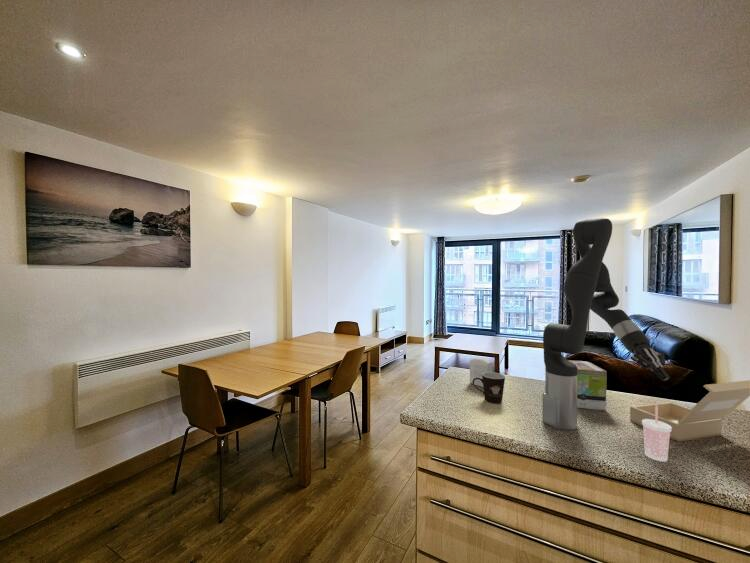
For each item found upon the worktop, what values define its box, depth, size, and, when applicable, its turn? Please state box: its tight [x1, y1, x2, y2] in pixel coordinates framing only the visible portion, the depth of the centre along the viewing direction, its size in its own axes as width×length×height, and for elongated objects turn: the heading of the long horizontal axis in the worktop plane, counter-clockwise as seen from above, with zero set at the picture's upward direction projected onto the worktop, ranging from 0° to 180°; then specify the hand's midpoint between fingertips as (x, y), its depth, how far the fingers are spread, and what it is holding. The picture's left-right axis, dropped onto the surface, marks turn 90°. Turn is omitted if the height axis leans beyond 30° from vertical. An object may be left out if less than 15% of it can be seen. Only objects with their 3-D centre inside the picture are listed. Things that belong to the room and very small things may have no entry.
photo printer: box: [469, 357, 493, 388], centre depth 143 cm, size 10×4×12 cm, turn 36°
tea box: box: [567, 359, 608, 411], centre depth 124 cm, size 15×10×15 cm, turn 168°
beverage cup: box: [642, 405, 672, 462], centre depth 86 cm, size 6×6×14 cm
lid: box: [678, 379, 750, 424], centre depth 93 cm, size 18×15×2 cm
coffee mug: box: [471, 371, 506, 405], centre depth 126 cm, size 12×9×10 cm
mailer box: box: [629, 401, 723, 443], centre depth 103 cm, size 18×14×5 cm
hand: (666, 379), depth 105 cm, fingers closed
